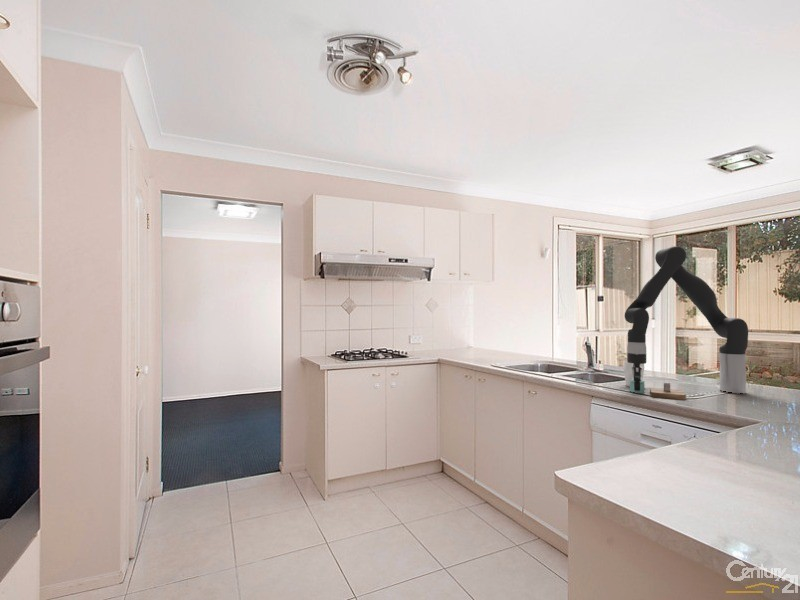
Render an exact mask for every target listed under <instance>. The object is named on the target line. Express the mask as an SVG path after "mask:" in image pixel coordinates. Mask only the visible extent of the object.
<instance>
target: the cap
mask: <svg viewBox="0 0 800 600" xmlns="http://www.w3.org/2000/svg"><path fill="white" fill-rule="evenodd" d="M630 391H631V392H630ZM629 392H630V393H633V392H635V393H634V394H645V380H643V381H642V380H641V381H640V391H635V390H634V380H630V386H629Z"/></svg>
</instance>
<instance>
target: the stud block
mask: <svg viewBox="0 0 800 600" xmlns="http://www.w3.org/2000/svg"><path fill="white" fill-rule="evenodd" d="M649 394H650V397H651V398H656V399H657V398H658V399H668V400H669V399H670V400H680V401H681V400H682V401H686V400H687V396H686V394H685V392H684V390H682V389H681V390H680V389H671V383H670V382H663V388H659V387H657V388H655V387H650V388H649Z"/></svg>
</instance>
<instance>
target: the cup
mask: <svg viewBox="0 0 800 600" xmlns="http://www.w3.org/2000/svg"><path fill="white" fill-rule="evenodd" d="M622 367H623V368H622V369H623V375H624V381H625V382H624V383H625V386H627V387H630V380H634V378H633V375H632V367H633V363H628V362H627V359H625V360H623V363H622ZM640 367H642V372H641V375H642V376H641V378H640V379H641V380H642V381H644V374H645V364H640Z"/></svg>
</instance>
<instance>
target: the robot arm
mask: <svg viewBox="0 0 800 600" xmlns="http://www.w3.org/2000/svg"><path fill="white" fill-rule="evenodd" d="M654 257H655V258H654V259H655V263H656V265H658V267H660V268H659V269H658V270H657V272H656V273H655V274H654V275H653V276H652V277H651V278H650V279H649V280H648V281H647V282H646V283H645V284H644V285H643V287H642V289H641V291H640V292H639V294H638V296H637V297H636V298H635V299H634V300H633V302H632V303H631V304H630V305H628V307H627V308H626V310H625V312H624V319H625V321H626V322H627V323H630V324H632V327H631V329H630V328H629V329H628V331H627V345H626V346H627V347H626V354H627V355H626V360H627V362H628V363H633V367H632V375H633V378H634V390H635V391H640V381H641V379H640V378H641V376H642V375H641V372H642V367H640V364H644V365H645V364H647V344H646V343H647V342H646V341H647V340H646V337H647V336H646V333H647V329H648V327H649V326H648V325H649V323H650V316H649V312H648V310H647V309H648V308H651V307H652V306H653V305H654V304H655V302H656V301H657V299H658V297H659V295H660V294H661V292H662V291H663V289H664V288H665V287H666V285H667V284H668V282H669V281H670V280H671V279H672V280H673V281H674V283H675V284H676V285H677V286H678V287H679V288H680V289H681V290H682V292H683V293H684V294H685V295H686V297H687V298H688V299H689V300H690V301H691V302H692V303H693V304H694V306H696V308H697V309H698V311H699V312H700V313H701V314H702V315H703V316H704V317H705V319H706V320H707V322H708V323H709V325H710V326H711V328H712V329H713V331H714V332H715V333H716V334H717V335H718V336H719V337H721V338H724V339H726V340H725V341H726V342H725V344H723V345H721V346H720V347H719V352H718V353H719V391H720V390H722V391H721V392H723V391H726V392H725V393H728V392H732V393H731V394H740V393H743V394H746V393H747V373H746V371H747V370H746V369H747V366H746V365H747V363H746V362H747V361H746V351H747V349H748V342H749V327H748V323H747V322H746V321H745V320H744V319H742V318H737V317H728V316H727V315H725V314H724V312H722V310H721V309H720V308H719V305H718V300H717V296H716V295H717V294H715V292H714V290H713V289H712V288H711V287H710V286H709V284H708V283H707V282H706V281H705V280H703V279H702V278H700V277H699V276H697V275H695V274H694V273H692V272H690V271H689V270H687V269H686V268H685V267H684V266H683V264H684V263H685V262H686V259H687V252H686V250H685V249H684V248H683V247H681V246H677V245H675V246H669V247H666V248H662V249H659V250H658V251H657V252H656V253H655V255H654Z"/></svg>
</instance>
